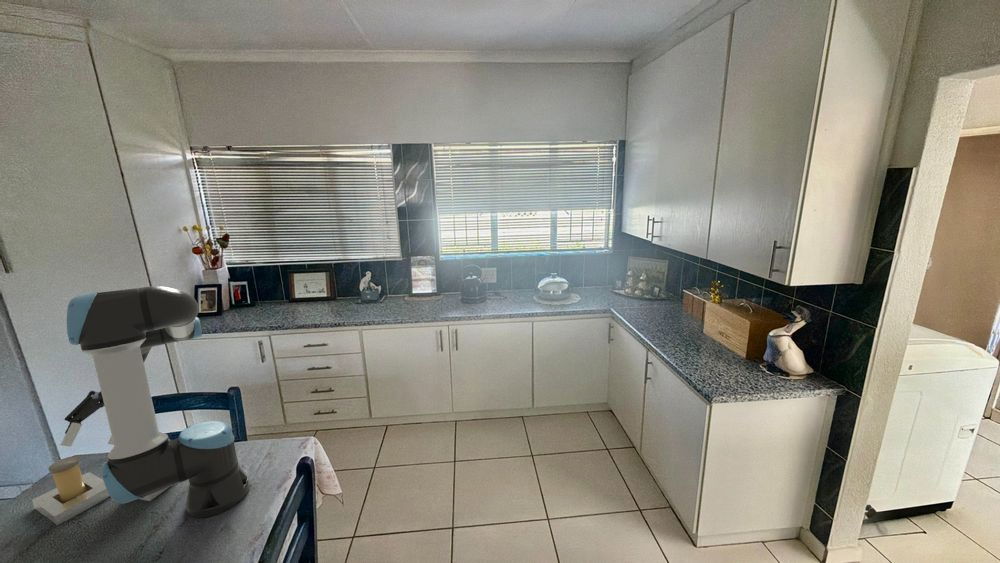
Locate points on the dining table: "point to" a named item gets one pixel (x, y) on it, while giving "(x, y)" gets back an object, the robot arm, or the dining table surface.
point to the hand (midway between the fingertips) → (89, 445)
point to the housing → (60, 512)
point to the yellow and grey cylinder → (68, 478)
